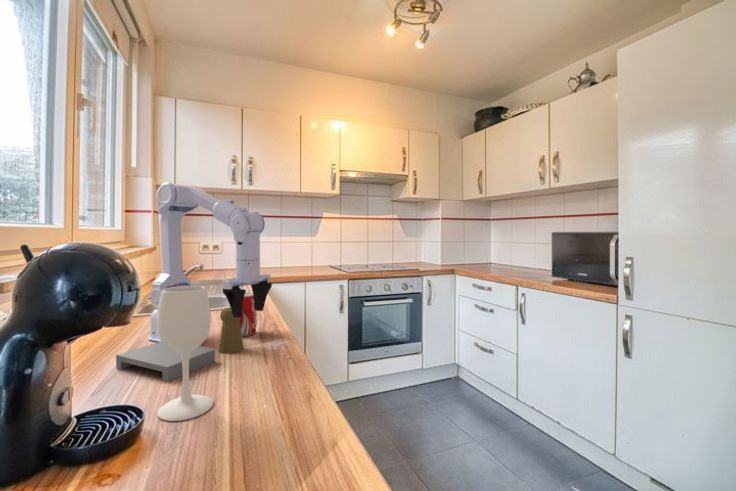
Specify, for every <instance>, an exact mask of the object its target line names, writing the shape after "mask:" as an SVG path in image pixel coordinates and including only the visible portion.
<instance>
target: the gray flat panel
mask: <svg viewBox="0 0 736 491" xmlns="http://www.w3.org/2000/svg"><path fill="white" fill-rule="evenodd" d="M115 362H116V366H115V368H116V369H118V370H123V369H126V368H129V367H132V366H138V367H142V368H146V369H150V370H154V371H159V372H161V374H162V381H165V382H166V383H167V382H170V381H173V380H176V379H177V378H179V377H183V368H182V359H181V356H180V354H179V353H177V352H175V351H173V350H171V349H169V348H168V347H166V346H165V345H164V344H163V343H162V341H161V342H155V343H153V344H148V345H145V346H141V347H138V348H134V349H131V350H129V351H125V352H121V353H118V354H116V355H115ZM215 362H216V349H215V348H210V347H205V346H201V345H200V346H198V347H197V348H196V349H194V350H193V351H192V352H191V354H190V357H189V374H190V373H192V372H194V371H197V370H199V369H201V368H203V367H206V366H209V365H211V364H214V363H215Z"/></svg>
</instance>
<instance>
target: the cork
mask: <svg viewBox="0 0 736 491" xmlns="http://www.w3.org/2000/svg"><path fill="white" fill-rule="evenodd" d="M219 318H220V321H222V324H221V331H220V332H221V333H220V341H219V346H218V352H219V354H222V355H227V354H228V355H229V354H231V355H232V354H236V353H237V354H238V353H240V352H242V351H243V350H244V343H243V337H242V335H241V328H240V321H239V320H240V318H241V317H240V318H238V317H233V314H232V310H231V307H230V306H229V307H226V308H223V309H221V311H220V313H219Z"/></svg>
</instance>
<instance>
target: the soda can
mask: <svg viewBox="0 0 736 491" xmlns="http://www.w3.org/2000/svg"><path fill="white" fill-rule="evenodd" d="M257 312H258V311H256V310H255V307H254V295H253V292H252V293H251V292H245V295H244V299H243V309H242V317H241V318H240V320H239V321H240V328H241V335H242V338H244V337H250V336H253V335H254V334H255V333H256V332H257V320H258V318H257Z"/></svg>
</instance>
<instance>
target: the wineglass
mask: <svg viewBox="0 0 736 491" xmlns="http://www.w3.org/2000/svg"><path fill="white" fill-rule="evenodd" d="M210 305H211V304H210V299H209V296H208V291H207V288H206V287H205V286H202V285H191V286H179V287H171V288H166V289H163V290H162V293H161V297H160V301H159V307H158V315H157V327H158V334H159V338H160V340H161V341H162V343H163V344H164V345H165V346H166V347H168V348H169V349H171V350H173V351H175V352H177V353H179V354H180V356H181V359H182V368H183V376H182V387H181V389H182V390H181V396H180V397H176V398H174V399H172V400H170V401H167V402H166V403H165V404H163V405H162V406H161V407H160V408H159V409H158V410H157V412H156V413H157V414H156V415H157V417H158V418H159V419H160V420H163V421H166V422H167V421H168V422H180V421H186V420H190V419H194V418H197V417H198V416H199V417H200V416H201V415H203V414H206V413H207V412H208V411H209V410H210V409H211V408H212V407H213V406H214V400H213V398H211V397H210V396H207V395H203V394H191V388H190V373H189V357H190V354H191V352H192V351H193V350H194V349H196V348H197V347H198V346H200V347H201V345H202V344H203V343H204V342H205V340H206V339H207V338H208V336H209V334H210V331H211V321H212V320H211V317H212V314H211V313H212V312H211V306H210Z"/></svg>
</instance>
